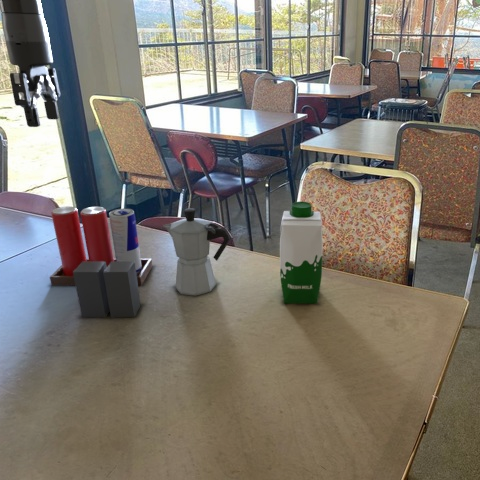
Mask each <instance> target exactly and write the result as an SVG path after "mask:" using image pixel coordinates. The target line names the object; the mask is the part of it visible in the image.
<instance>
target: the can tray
mask: <svg viewBox="0 0 480 480" xmlns="http://www.w3.org/2000/svg"><path fill="white" fill-rule="evenodd" d="M86 259H87V261H89V258H86ZM114 261H116V258H114ZM141 265H142V270H141V272H139V274H138V275H137V282H138V287H139V286H142V285H143V284H144V282H145V281H146V278H147V277H148V275H149V273H150V272H151V270H152V269H153V259H152V258H141ZM49 281H50V285H51V287H52V286H53V287H54V286H55V287H56V286H57V287H60V286H64V287H65V286H67V287H68V286H71V287H72V286H73V287H74V286H75V287H76V285H75V280H74V276H64V272H63V267H62V264H61V265H60V266H59V267H58V268H57V269H56V270H55V271H54V272H53V273H52V274H51V275H50V276H49Z"/></svg>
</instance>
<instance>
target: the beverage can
mask: <svg viewBox="0 0 480 480" xmlns="http://www.w3.org/2000/svg"><path fill="white" fill-rule="evenodd" d="M108 215H109V217H108V219H109V224H110V229H111V237H112V243H113V249H114V256H115V259H116V261H135V268H136V275H138V274H139V272H141V270H142V265H141V259H142V258H141V252H140V244H139V237H138V229H137V222H136V215H135V211H134V209H132V208H118V209H117V208H116V209H113V210H111V211H110V212H109V213H108Z"/></svg>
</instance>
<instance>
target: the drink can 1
mask: <svg viewBox="0 0 480 480" xmlns="http://www.w3.org/2000/svg"><path fill="white" fill-rule="evenodd" d="M50 215H51V218H52V223H53V228H54V233H55V239H56V243H57V248H58V252H59V258H60V262H61V265H62V267H63V272H64V276H74V275H73V271H74V270H75V269H76V268H77V267H78V266H79V265H80V264H81V262H82V261H87V259H88V258H87V254H86V249H85V244H84V239H83V234H82V228H81V223H80V222H81V221H80V217H79V212H78V209H77V208H76V207H75V206H69V205H67V206H60V207H56V208H54V209H53V210H52V211H50Z"/></svg>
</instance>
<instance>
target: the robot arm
mask: <svg viewBox="0 0 480 480" xmlns="http://www.w3.org/2000/svg"><path fill="white" fill-rule="evenodd" d="M0 16H1V17H0V18H1V27H2V32H3V37H4V41H5V46H6V50H7V54H8V60H9V63H10V64H11V65H12V66H17V67H18V72H10V73H9V79H10V84H11V85H10V86H11V90H12V95H13V101H14V105H15V106H17V107H19V106H20V108H22V109H23V113H24V115H25V121H26V125H27V127H29V128H39V127H40V126H41V121H40V117H39V111H38V107H37V102H38V99H39V98H40V97H41V98H42V99H43V104H44V105H43V106H44V109H45V114H46V119H48V120H58V119H59V118H60V115H59V111H58V105H57V101H58V98H60V97H61V91H60V86H59V85H60V84H59V81H58V76H57V71H56V68H55V67H47V66H51V65H53V63H54V60H53V54H52V49H51V43H50V37H49V32H48V27H47V24H46V20H45V18H44V13H43V7H42V3H41V0H0Z"/></svg>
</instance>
